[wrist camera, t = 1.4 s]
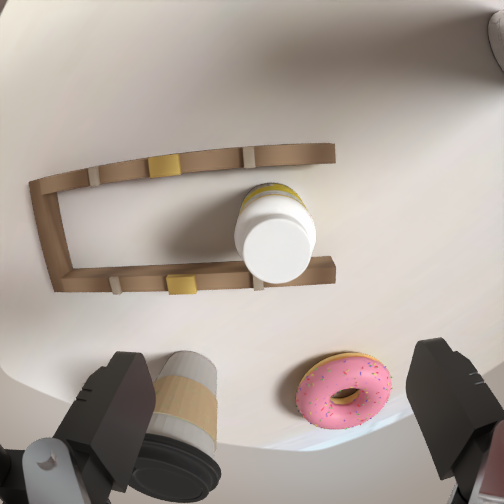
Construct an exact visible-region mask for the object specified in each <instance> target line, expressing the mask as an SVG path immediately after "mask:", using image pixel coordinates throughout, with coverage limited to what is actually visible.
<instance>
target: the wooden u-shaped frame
mask: <svg viewBox="0 0 504 504" xmlns="http://www.w3.org/2000/svg"><path fill="white" fill-rule="evenodd" d="M327 163H336V160H335V144H332V143H308V144H282V145H264V146H249V147H236V148H224V149H214V150H204V151H195V152H186V153H178V154H170V155H163V156H155V157H148V158H142V159H135V160H129V161H123V162H117V163H112V164H106V165H101V166H95V167H90V168H85V169H80V170H75V171H71V172H66V173H62V174H57V175H53V176H48V177H44V178H41V179H37V180H34V181H30V182H29V187H30V193H31V199H32V205H33V210H34V215H35V220H36V225H37V229H38V234H39V238H40V242H41V246H42V250H43V254H44V258H45V262H46V265H47V269H48V272H49V276H50V279H51V283H52V286H53V289H54V292H113V294H121V293H122V292H148V291H169V295H176V294H196V293H197V290H218V289H242V288H254V291H257V290H264V287H283V286H301V285H317V284H332V283H335V281H336V266H335V264H334V262H333V260H332V258H331V256H325V257H311V259H310V262H309V264H308V266H307V268H306V269H305V270H304V272H303V273H302V274H301V275H300V276H298V277H297V278H295V279H293V280H291V281H289V282H286V283H280V284H274V283H268V282H264V281H262V280H260V279H258V278H257V277H255V276H254V275H253V274H252V273H251V272H250V271H249V270H248V268H247V266H246V264H245V262H244V261H232V262H212V263H192V264H171V265H150V266H128V267H105V268H81V269H73V267H72V263H71V259H70V255H69V251H68V247H67V243H66V238H65V234H64V229H63V225H62V220H61V215H60V209H59V204H58V198H57V193H56V192H59V191H64V190H70V189H75V188H81V187H87V186H90V187H93V186H98V185H100V184H105V183H111V182H117V181H124V180H131V179H138V178H146V177H150V178H156V177H164V176H173V175H180V174H182V173H188V172H197V171H208V170H219V169H230V168H243V167H244V169H246V168H255V167H258V166H275V165H296V164H327Z"/></svg>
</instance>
